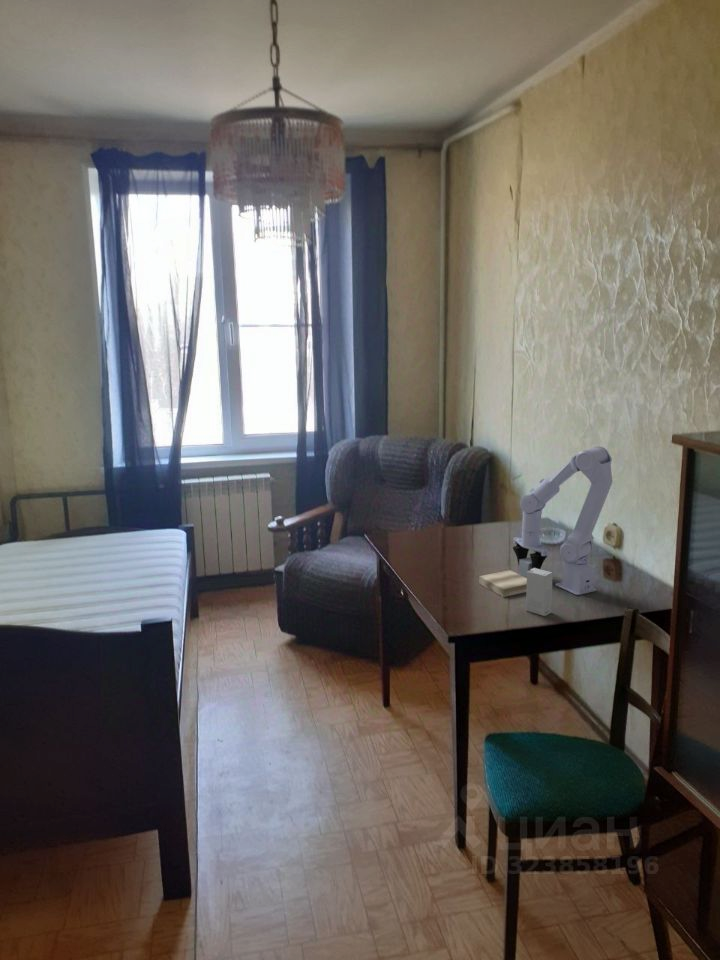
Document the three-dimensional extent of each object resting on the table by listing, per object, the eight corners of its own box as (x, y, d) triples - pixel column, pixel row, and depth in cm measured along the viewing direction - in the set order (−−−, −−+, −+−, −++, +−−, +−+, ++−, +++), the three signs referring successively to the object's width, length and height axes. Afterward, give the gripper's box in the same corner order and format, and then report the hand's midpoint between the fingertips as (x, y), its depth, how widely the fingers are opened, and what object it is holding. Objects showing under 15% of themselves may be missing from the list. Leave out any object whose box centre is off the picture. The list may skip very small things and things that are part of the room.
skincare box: (551, 612, 196) (554, 571, 193) (543, 617, 193) (546, 576, 190) (532, 606, 200) (534, 566, 198) (524, 611, 197) (526, 570, 194)
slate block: (538, 576, 224) (539, 561, 223) (527, 578, 222) (528, 563, 221) (529, 571, 228) (530, 557, 227) (518, 573, 226) (519, 559, 225)
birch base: (534, 590, 212) (535, 582, 212) (503, 597, 207) (503, 589, 206) (509, 577, 223) (509, 570, 222) (478, 583, 217) (479, 576, 217)
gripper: (556, 534, 217) (554, 575, 220) (525, 522, 230) (523, 561, 233) (539, 537, 214) (536, 579, 217) (508, 525, 226) (507, 565, 230)
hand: (528, 570), depth 225 cm, fingers open, 6 cm apart
